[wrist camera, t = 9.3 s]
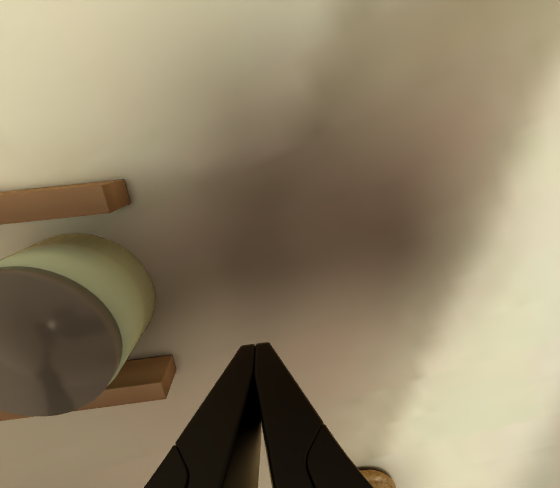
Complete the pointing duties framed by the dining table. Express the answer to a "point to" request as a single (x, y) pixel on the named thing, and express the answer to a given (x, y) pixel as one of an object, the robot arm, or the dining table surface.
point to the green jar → (68, 322)
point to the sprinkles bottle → (378, 479)
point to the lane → (79, 202)
